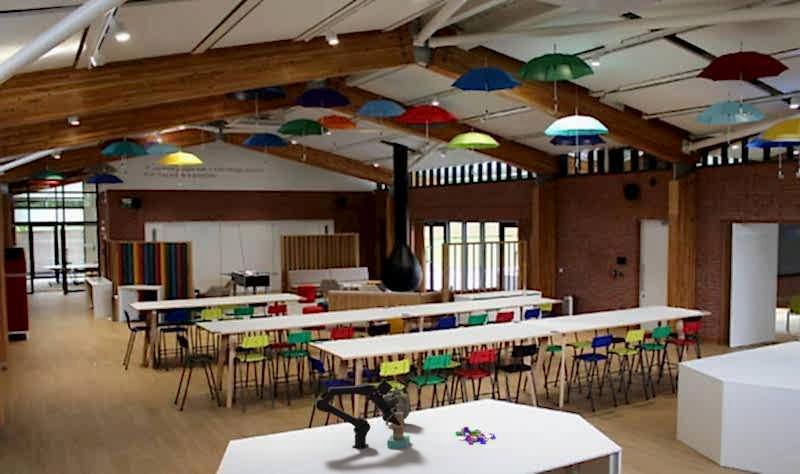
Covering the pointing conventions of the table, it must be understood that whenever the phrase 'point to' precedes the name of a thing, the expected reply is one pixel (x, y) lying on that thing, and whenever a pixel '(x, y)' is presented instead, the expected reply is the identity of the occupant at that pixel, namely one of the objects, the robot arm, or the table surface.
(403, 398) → the tabletop clock
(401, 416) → the walnut pillar
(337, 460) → the table surface
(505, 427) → the table surface
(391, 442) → the teal base block
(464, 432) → the building block set
